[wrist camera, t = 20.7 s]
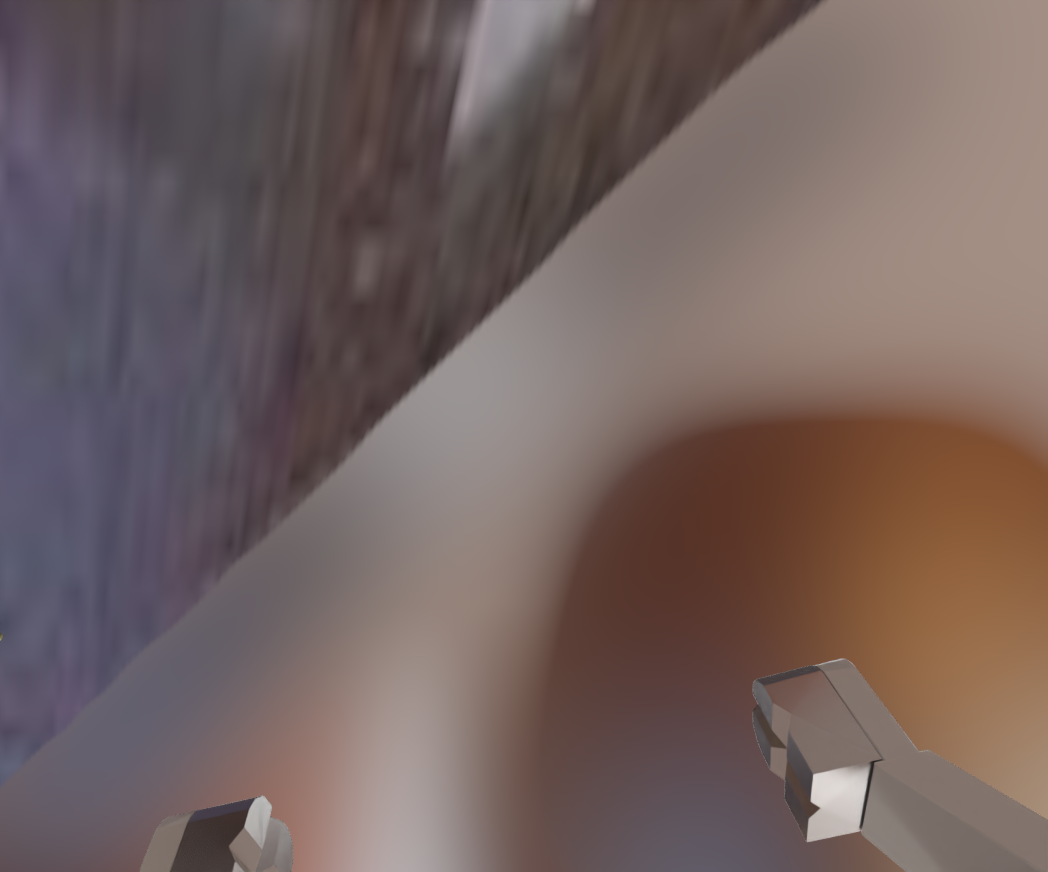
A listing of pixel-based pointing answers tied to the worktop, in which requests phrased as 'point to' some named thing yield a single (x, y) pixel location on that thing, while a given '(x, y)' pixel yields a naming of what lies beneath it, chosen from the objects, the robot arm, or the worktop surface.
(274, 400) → the worktop surface
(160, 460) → the worktop surface
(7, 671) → the worktop surface
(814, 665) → the robot arm
